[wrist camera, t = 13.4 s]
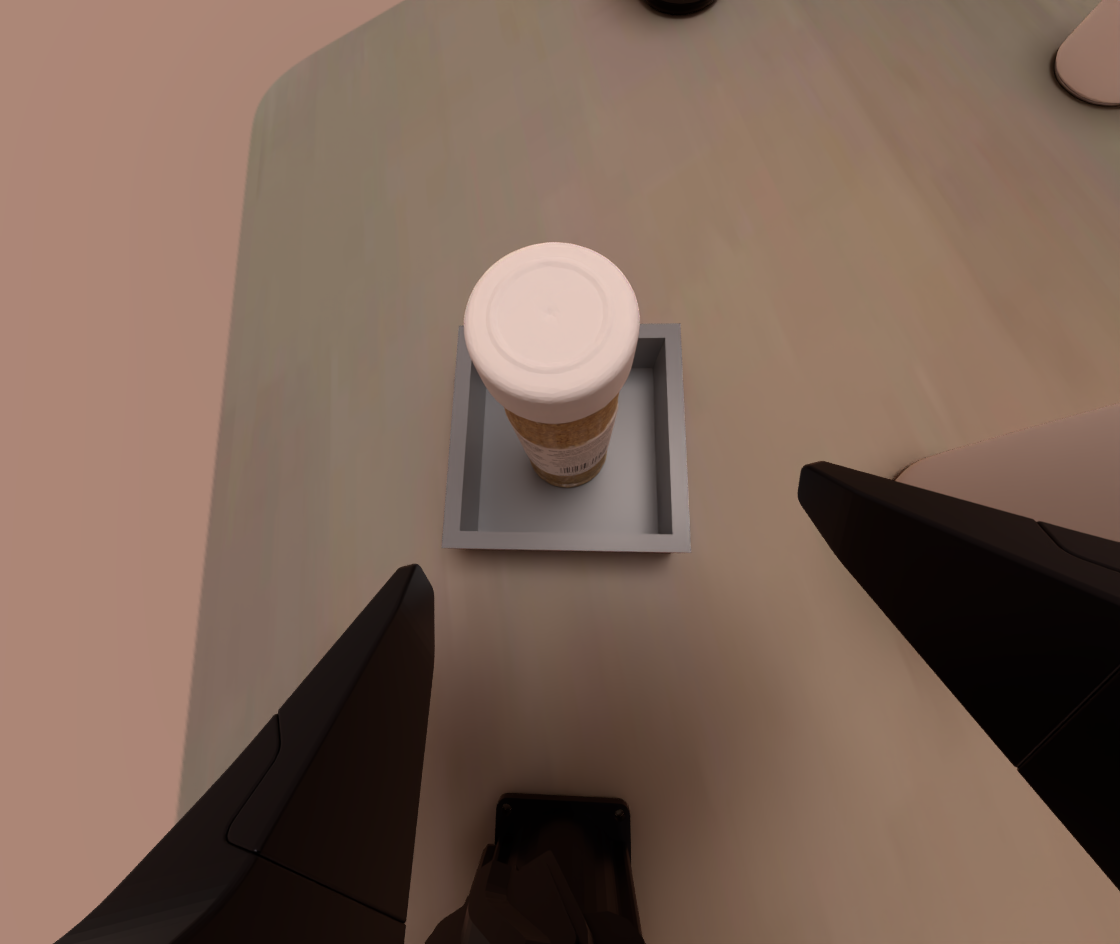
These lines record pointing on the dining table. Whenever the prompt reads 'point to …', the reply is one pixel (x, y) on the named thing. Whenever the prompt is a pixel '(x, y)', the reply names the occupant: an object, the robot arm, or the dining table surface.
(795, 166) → the dining table surface
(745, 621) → the dining table surface
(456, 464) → the bin
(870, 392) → the dining table surface
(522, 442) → the sprinkles bottle
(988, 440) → the milk bottle
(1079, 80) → the can
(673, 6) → the supplement container
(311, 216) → the dining table surface
